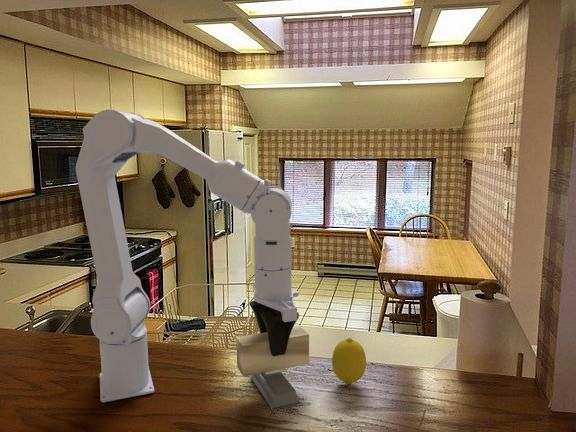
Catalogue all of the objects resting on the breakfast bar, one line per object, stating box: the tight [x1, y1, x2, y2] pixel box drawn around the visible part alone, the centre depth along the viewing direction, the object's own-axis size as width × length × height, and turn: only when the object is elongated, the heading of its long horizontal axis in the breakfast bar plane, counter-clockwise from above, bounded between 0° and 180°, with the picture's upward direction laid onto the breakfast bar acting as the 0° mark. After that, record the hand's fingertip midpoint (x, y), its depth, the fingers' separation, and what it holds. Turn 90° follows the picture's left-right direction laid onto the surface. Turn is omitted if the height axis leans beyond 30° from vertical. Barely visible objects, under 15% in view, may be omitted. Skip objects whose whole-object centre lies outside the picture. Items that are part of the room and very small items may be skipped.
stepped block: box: [250, 370, 300, 409], centre depth 77 cm, size 10×4×3 cm, turn 22°
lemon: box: [331, 337, 367, 386], centre depth 79 cm, size 6×6×8 cm
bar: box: [235, 326, 310, 378], centre depth 76 cm, size 4×11×5 cm, turn 112°
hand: (273, 349), depth 76 cm, fingers closed on bar, 3 cm apart
